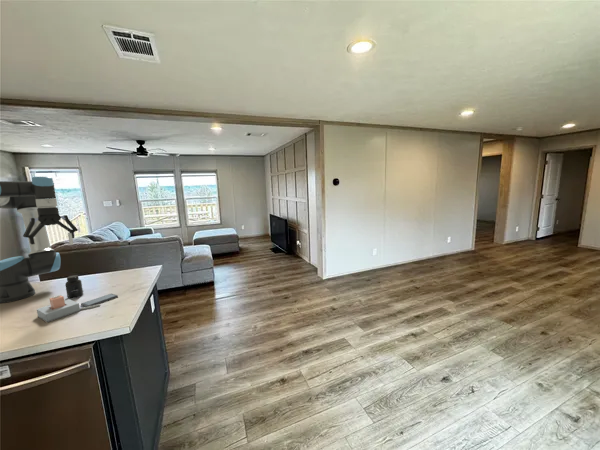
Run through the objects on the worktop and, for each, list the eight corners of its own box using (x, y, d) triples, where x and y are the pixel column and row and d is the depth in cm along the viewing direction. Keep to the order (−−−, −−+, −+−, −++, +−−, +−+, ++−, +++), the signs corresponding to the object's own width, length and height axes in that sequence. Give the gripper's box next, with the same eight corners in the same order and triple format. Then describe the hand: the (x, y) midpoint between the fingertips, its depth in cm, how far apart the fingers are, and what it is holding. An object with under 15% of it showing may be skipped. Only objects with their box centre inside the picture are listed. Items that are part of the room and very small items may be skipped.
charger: (52, 313, 119) (49, 297, 118) (63, 310, 122) (60, 294, 121) (55, 315, 117) (52, 298, 116) (66, 311, 120) (63, 295, 119)
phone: (81, 305, 128) (80, 303, 128) (111, 295, 140) (111, 293, 140) (87, 308, 125) (86, 306, 125) (117, 297, 137) (117, 295, 137)
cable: (79, 310, 122) (78, 308, 122) (79, 309, 123) (79, 308, 123) (100, 306, 126) (100, 304, 126) (100, 305, 127) (100, 303, 127)
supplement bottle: (73, 299, 136) (70, 278, 135) (64, 298, 138) (60, 278, 136) (86, 294, 143) (83, 274, 141) (77, 293, 145) (74, 274, 143)
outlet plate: (38, 316, 117) (36, 309, 117) (70, 306, 128) (68, 299, 127) (47, 322, 112) (45, 314, 111) (80, 310, 122) (78, 303, 121)
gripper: (13, 209, 112) (22, 253, 115) (81, 205, 134) (87, 243, 137) (8, 209, 116) (17, 252, 119) (75, 205, 137) (81, 241, 141)
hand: (54, 247), depth 128 cm, fingers open, 13 cm apart
